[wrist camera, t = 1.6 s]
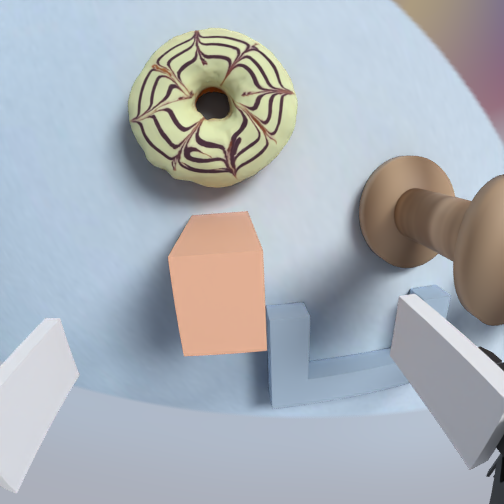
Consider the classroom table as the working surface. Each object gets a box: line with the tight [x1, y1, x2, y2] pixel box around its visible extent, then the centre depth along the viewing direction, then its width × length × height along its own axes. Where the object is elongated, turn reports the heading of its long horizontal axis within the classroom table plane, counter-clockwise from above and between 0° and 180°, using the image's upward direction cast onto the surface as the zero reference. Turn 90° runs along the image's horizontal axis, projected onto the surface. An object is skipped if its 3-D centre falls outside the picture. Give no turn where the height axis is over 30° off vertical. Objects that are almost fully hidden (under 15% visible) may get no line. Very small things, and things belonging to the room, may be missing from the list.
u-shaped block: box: [266, 285, 451, 409], centre depth 26 cm, size 16×9×2 cm, turn 93°
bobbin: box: [359, 156, 504, 326], centre depth 18 cm, size 9×9×12 cm
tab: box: [168, 211, 267, 356], centre depth 19 cm, size 4×5×10 cm
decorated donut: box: [128, 28, 297, 188], centre depth 19 cm, size 10×11×4 cm
